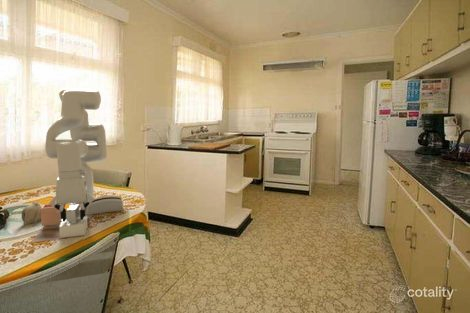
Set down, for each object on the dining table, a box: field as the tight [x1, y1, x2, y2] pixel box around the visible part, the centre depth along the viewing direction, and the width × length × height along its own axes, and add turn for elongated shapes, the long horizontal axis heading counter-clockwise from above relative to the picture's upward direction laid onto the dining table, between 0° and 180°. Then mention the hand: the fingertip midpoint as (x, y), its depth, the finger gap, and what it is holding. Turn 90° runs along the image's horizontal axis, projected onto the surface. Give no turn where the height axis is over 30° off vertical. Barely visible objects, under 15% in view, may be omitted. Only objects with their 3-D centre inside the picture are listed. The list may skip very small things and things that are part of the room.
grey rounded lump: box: [21, 201, 42, 226], centre depth 116 cm, size 9×8×10 cm
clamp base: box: [42, 203, 90, 230], centre depth 113 cm, size 8×15×10 cm, turn 111°
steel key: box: [66, 204, 80, 223], centre depth 105 cm, size 8×3×10 cm, turn 20°
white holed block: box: [59, 217, 89, 238], centre depth 106 cm, size 8×8×4 cm
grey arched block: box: [85, 195, 124, 216], centre depth 129 cm, size 17×5×10 cm, turn 123°
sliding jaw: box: [40, 203, 61, 227], centre depth 111 cm, size 6×6×7 cm
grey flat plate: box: [30, 216, 92, 243], centre depth 109 cm, size 20×17×2 cm
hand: (73, 218), depth 105 cm, fingers open, 5 cm apart
